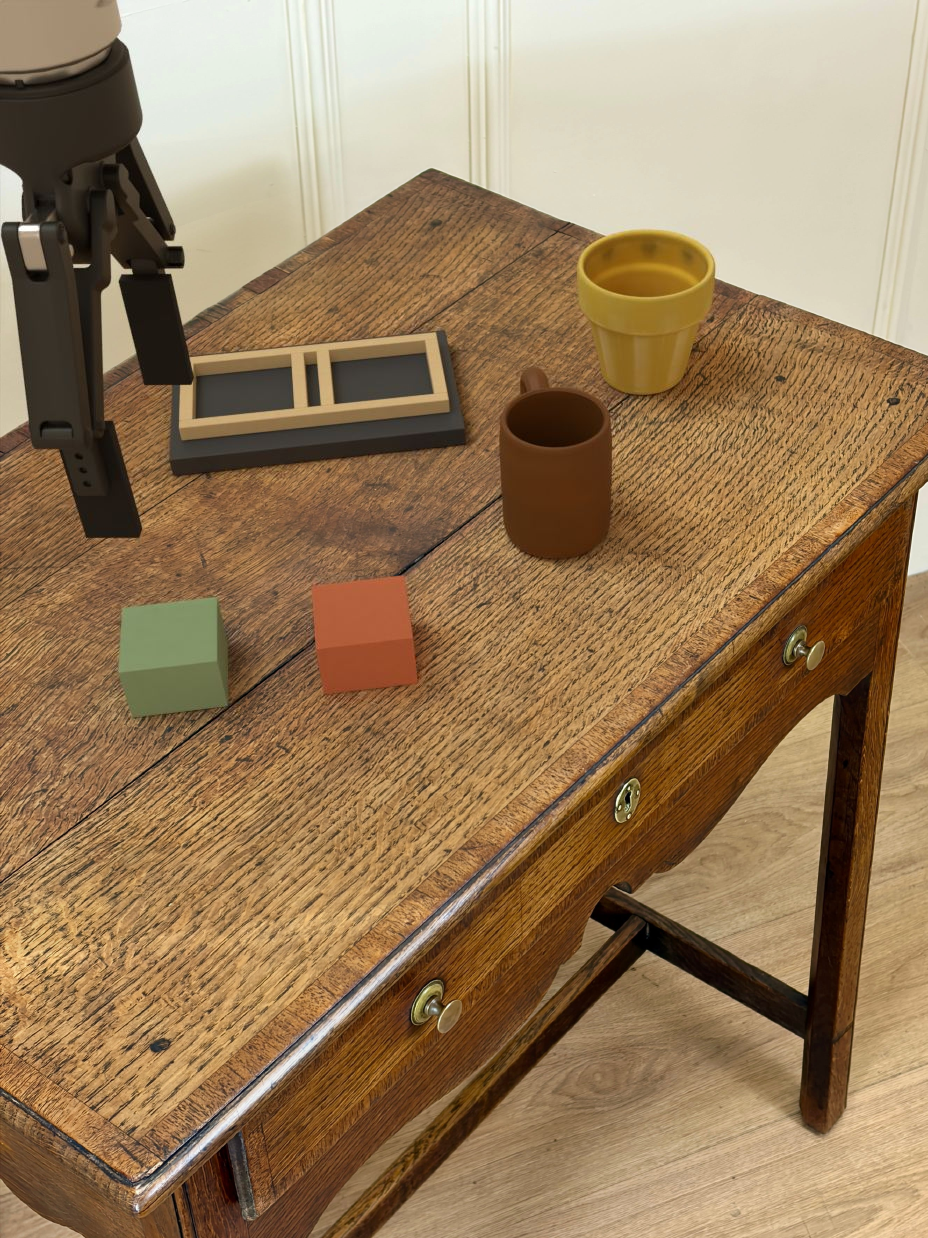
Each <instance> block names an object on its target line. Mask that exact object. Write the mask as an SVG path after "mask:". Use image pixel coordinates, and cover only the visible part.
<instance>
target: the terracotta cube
mask: <svg viewBox="0 0 928 1238" xmlns="http://www.w3.org/2000/svg"><path fill="white" fill-rule="evenodd" d="M311 598H312V610H313V611H312V614H313V628H314V643H315V652H316V659H317V663H318V671H319V675H320V682H321V686H322V693H323V695H334V694H341V693H348V692H357V691H366V690H375V689H381V688H390V687H398V686H399V687H400V686H407V685H414V684H418V683H419V679H418V678H419V677H418V671H417V660H416V652H415V644H414V643H415V641H414V633H413V627H412V621H411V612H410V607H409V606H410V605H409V598H408V591H407V583H406V576H405V575H404V574H403V575H395V576H387V577H385V576H384V577H377V578H369V579H361V580H351V581H341V582H333V583H325V584H316V585H311Z"/></svg>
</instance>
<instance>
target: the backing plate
mask: <svg viewBox="0 0 928 1238" xmlns="http://www.w3.org/2000/svg"><path fill="white" fill-rule="evenodd" d="M189 357H190V362H191V366H192V371H193V375H194V379H193V382H192V385H171V403H170V429H169V431H170V432H169V455H168V461H169V466H170V470H171V473H172V476H173V477H175V476H184V475H193V474H202V473H203V474H204V473H211V472H222V471H230V470H232V471H233V470H239V469H241V470H242V469H247V468H248V469H249V468H259V467H268V466H277V465H285V464H295V463H303V462H304V463H305V462H313V461H323V460H333V459H342V458H350V457H359V456H370V455H379V454H387V453H396V452H406V451H417V450H423V449H425V450H426V449H433V448H443V447H444V448H445V447H451V446H453V447H455V446H461V445H466V444H467V438H466V437H467V436H466V426H465V422H464V416H463V412H462V411H463V410H462V406H461V402H460V396H459V391H458V386H457V382H456V377H455V371H454V367H453V362H452V357H451V352H450V346H449V341H448V337H447V331H446V329H441V330H431V331H430V330H429V331H422V332H420V331H419V332H412V333H410V332H409V333H401V334H391V335H380V336H371V337H363V338H362V337H361V338H352V339H343V340H342V339H341V340H332V341H331V340H330V341H323V342H314V343H303V344H291V345H284V346H282V345H281V346H272V347H264V348H254V349H243V350H235V351H224V352H223V351H222V352H213V353H204V354H196V355H195V354H194V355H189Z"/></svg>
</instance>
